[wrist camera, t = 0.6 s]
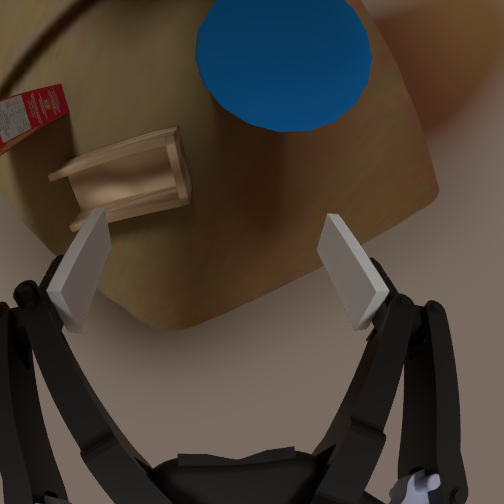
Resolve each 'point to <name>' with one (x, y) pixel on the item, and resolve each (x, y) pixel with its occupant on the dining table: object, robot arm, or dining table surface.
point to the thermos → (284, 60)
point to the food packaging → (29, 114)
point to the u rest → (129, 177)
